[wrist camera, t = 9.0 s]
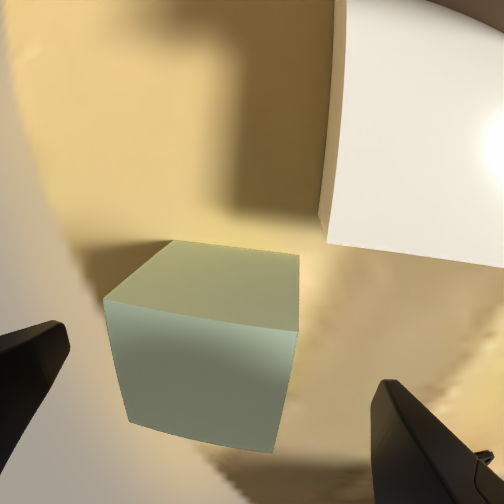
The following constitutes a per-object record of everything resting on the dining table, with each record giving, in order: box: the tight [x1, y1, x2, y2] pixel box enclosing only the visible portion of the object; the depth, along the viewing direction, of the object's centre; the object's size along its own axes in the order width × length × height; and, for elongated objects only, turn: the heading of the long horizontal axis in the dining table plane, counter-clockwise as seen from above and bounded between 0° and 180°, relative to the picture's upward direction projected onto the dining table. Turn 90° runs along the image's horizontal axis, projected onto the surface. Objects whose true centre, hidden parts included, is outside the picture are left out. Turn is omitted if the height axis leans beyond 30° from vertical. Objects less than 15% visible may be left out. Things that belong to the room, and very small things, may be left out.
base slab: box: [318, 0, 504, 268], centre depth 6 cm, size 11×7×3 cm, turn 175°
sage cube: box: [103, 240, 299, 453], centre depth 9 cm, size 4×4×4 cm
